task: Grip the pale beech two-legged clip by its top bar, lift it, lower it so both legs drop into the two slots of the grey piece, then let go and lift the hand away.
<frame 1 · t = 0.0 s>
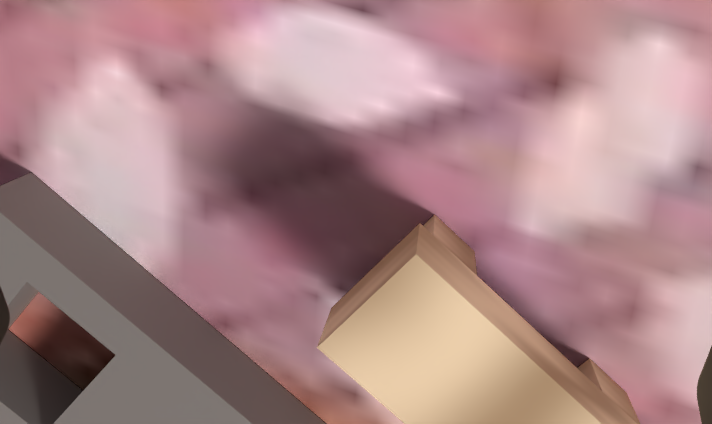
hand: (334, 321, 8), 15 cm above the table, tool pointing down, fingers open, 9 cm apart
beech clip: (502, 331, 25), on the table
grey piece: (153, 385, 28), on the table
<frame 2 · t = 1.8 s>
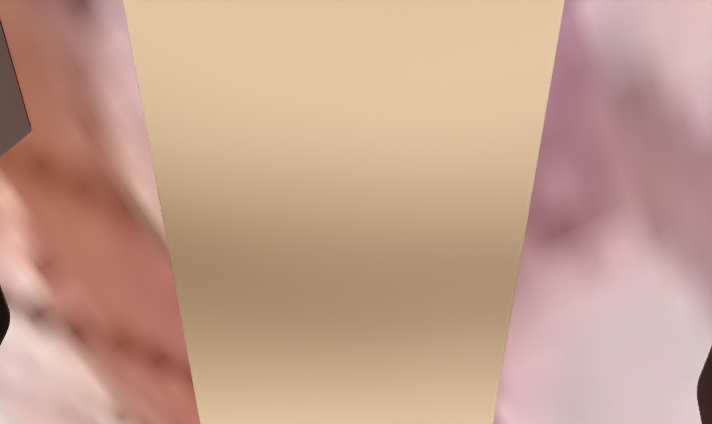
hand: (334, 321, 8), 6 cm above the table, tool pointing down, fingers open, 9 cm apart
beech clip: (389, 110, 14), on the table
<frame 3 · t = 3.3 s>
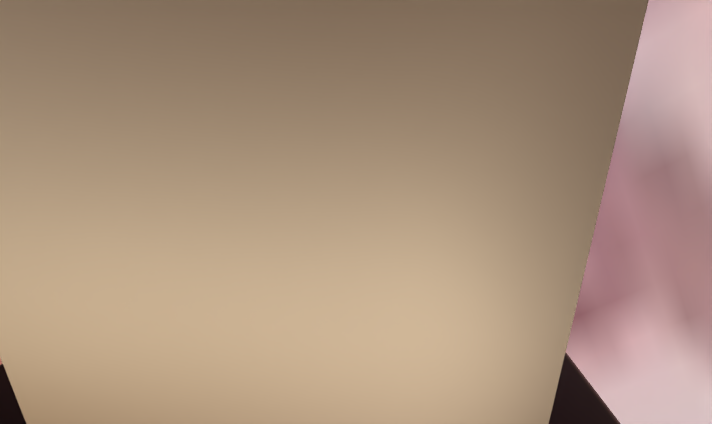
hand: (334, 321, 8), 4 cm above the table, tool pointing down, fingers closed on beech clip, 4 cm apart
beech clip: (368, 180, 11), on the table, touching gripper
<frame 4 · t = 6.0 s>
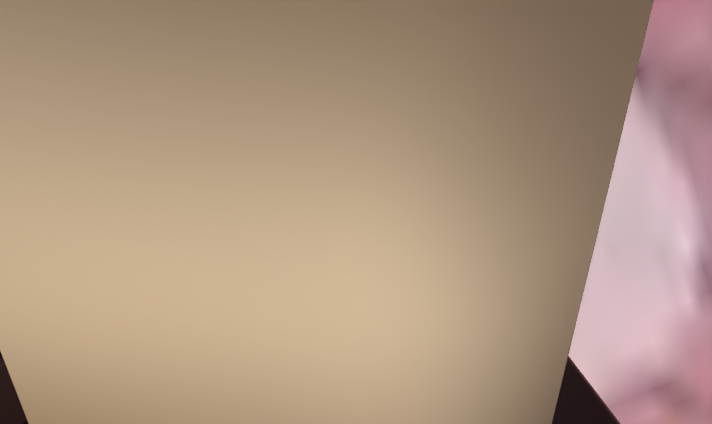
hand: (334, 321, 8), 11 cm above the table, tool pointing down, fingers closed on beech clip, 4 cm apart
beech clip: (369, 179, 11), point 7 cm above the table, touching gripper
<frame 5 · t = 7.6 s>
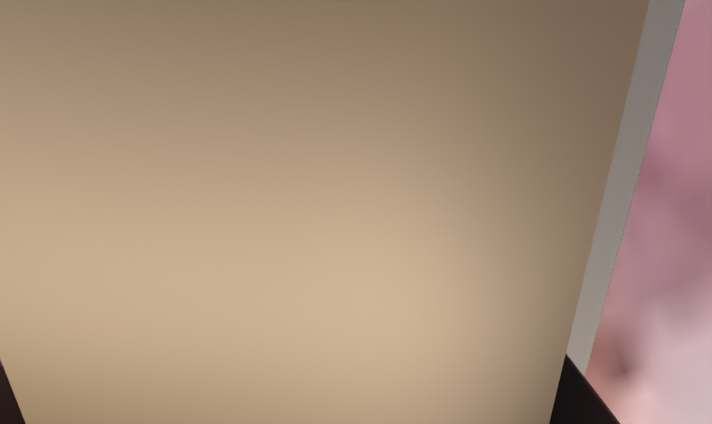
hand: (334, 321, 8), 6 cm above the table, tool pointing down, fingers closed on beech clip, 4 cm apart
beech clip: (368, 178, 11), point 2 cm above the table, touching gripper
grey piece: (382, 121, 13), on the table
when the fingers open (5 cm above the table, at t = 8.8 s): beech clip drops 1 cm, resting in grey piece.
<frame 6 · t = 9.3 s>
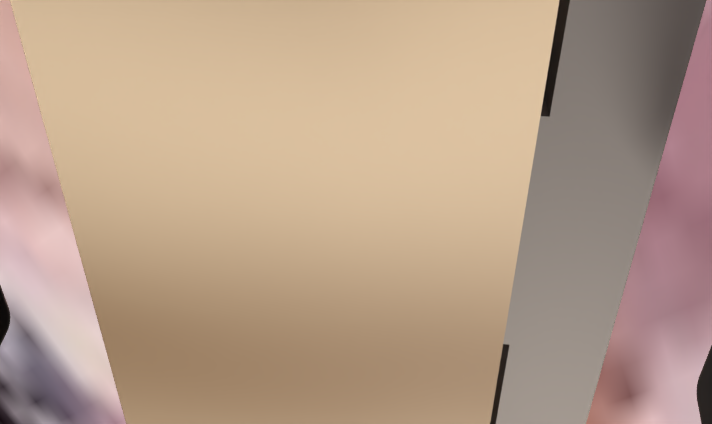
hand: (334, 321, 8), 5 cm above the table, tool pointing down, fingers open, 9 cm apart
beech clip: (371, 139, 13), resting in grey piece
grey piece: (377, 139, 12), on the table
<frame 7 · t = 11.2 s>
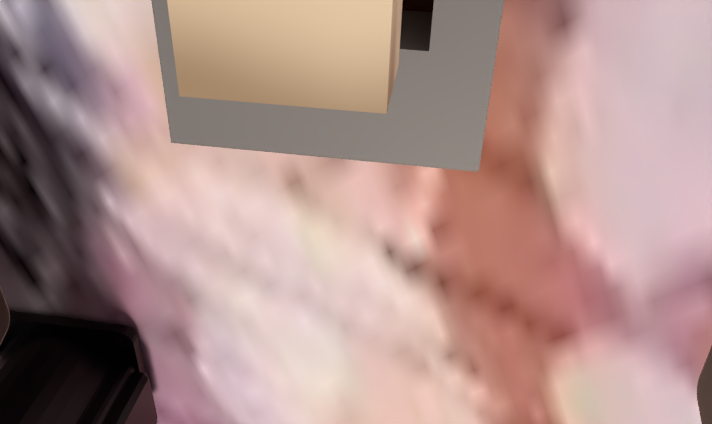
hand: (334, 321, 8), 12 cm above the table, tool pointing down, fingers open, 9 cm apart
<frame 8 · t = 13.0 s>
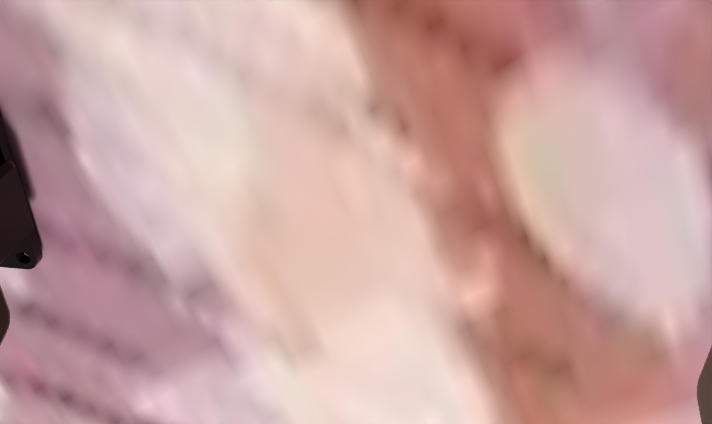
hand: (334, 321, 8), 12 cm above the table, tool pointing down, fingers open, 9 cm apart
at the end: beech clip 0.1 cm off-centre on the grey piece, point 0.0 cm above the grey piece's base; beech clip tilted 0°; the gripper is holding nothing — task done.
